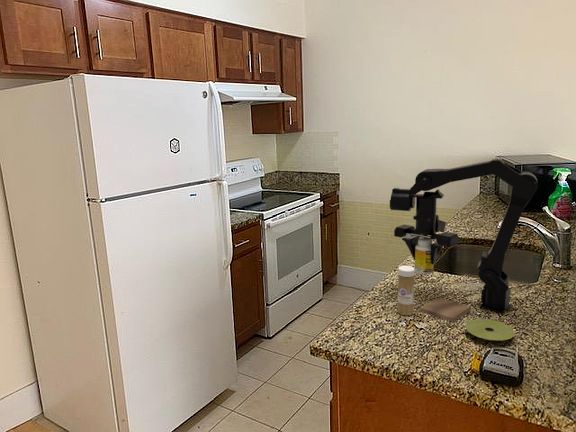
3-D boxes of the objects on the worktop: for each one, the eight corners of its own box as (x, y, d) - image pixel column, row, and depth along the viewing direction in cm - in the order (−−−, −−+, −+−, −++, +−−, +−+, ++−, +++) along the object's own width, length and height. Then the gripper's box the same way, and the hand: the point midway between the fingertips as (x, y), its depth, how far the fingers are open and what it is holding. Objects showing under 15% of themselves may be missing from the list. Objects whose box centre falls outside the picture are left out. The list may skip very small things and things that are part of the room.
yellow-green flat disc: (498, 352, 100) (499, 344, 100) (455, 334, 109) (456, 327, 109) (522, 337, 107) (523, 330, 106) (480, 321, 116) (480, 314, 115)
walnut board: (470, 310, 122) (470, 307, 122) (453, 321, 116) (453, 318, 116) (438, 300, 130) (438, 297, 130) (420, 310, 123) (420, 307, 123)
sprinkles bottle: (396, 314, 121) (397, 269, 119) (398, 308, 126) (399, 264, 123) (412, 317, 120) (414, 271, 117) (414, 310, 124) (415, 265, 121)
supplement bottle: (425, 276, 128) (426, 243, 126) (410, 271, 133) (411, 239, 130) (437, 272, 131) (438, 239, 129) (422, 267, 136) (423, 236, 133)
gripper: (469, 211, 126) (466, 262, 130) (413, 204, 140) (412, 250, 143) (450, 218, 119) (448, 271, 122) (393, 210, 133) (392, 258, 136)
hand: (424, 262), depth 131 cm, fingers closed on supplement bottle, 5 cm apart
